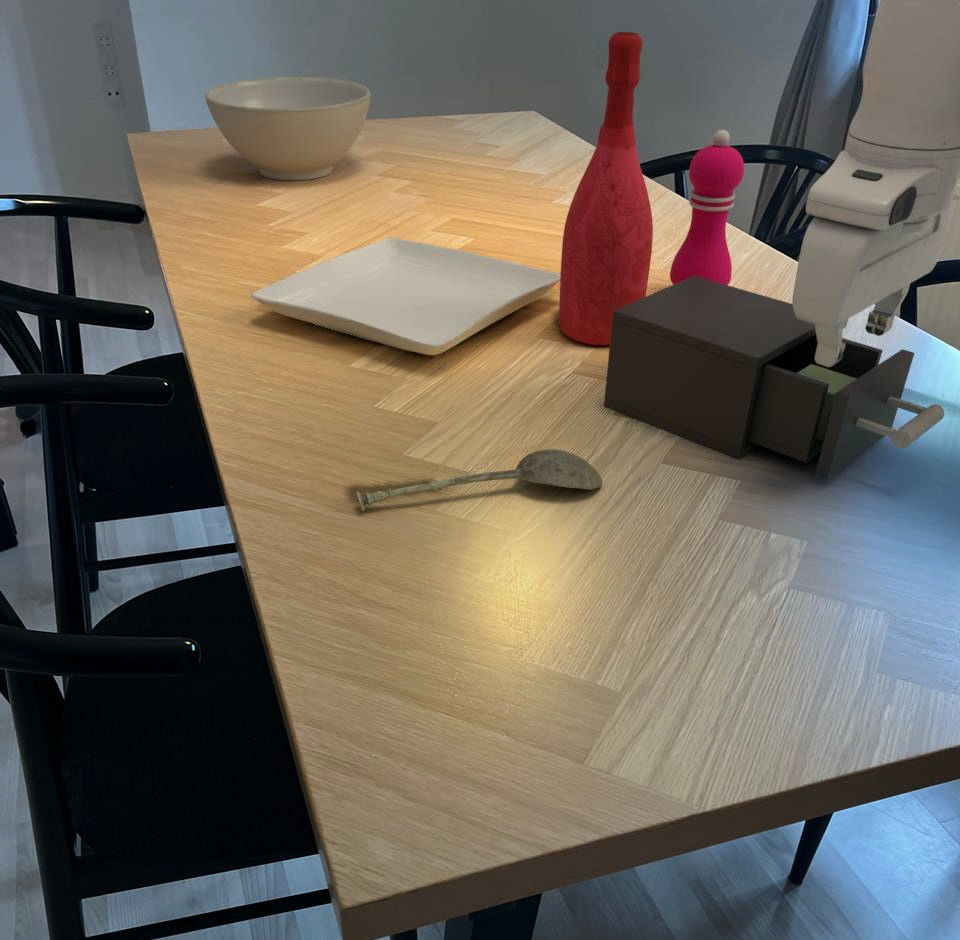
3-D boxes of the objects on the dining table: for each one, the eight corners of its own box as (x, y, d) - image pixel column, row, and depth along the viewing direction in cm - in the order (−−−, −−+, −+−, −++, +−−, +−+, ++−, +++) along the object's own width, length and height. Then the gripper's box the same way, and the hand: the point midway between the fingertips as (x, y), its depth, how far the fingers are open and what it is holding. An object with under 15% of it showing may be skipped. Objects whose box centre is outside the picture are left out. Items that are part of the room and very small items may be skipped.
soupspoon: (612, 503, 86) (586, 470, 91) (617, 468, 84) (590, 436, 89) (364, 528, 80) (351, 492, 86) (362, 491, 78) (349, 456, 84)
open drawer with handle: (941, 449, 91) (969, 368, 86) (880, 500, 83) (907, 415, 78) (756, 385, 101) (771, 310, 96) (687, 426, 94) (700, 346, 89)
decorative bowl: (376, 152, 179) (372, 76, 171) (373, 192, 158) (368, 108, 150) (228, 152, 177) (217, 76, 170) (205, 193, 157) (192, 109, 149)
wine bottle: (619, 356, 109) (652, 43, 90) (541, 337, 112) (558, 33, 93) (655, 328, 115) (693, 30, 96) (580, 310, 119) (603, 21, 100)
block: (857, 378, 89) (811, 363, 91) (833, 394, 86) (786, 378, 89) (844, 424, 92) (800, 409, 94) (820, 441, 89) (776, 425, 92)
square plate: (565, 302, 121) (567, 270, 119) (437, 379, 103) (437, 343, 101) (391, 260, 133) (390, 230, 130) (249, 322, 115) (245, 289, 112)
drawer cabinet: (811, 411, 99) (835, 316, 92) (738, 459, 91) (759, 358, 84) (680, 365, 107) (694, 275, 101) (603, 406, 99) (612, 310, 93)
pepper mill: (731, 305, 121) (762, 126, 108) (716, 325, 116) (748, 140, 103) (674, 296, 123) (699, 120, 111) (658, 315, 118) (681, 133, 106)
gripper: (915, 148, 84) (873, 306, 93) (797, 194, 73) (761, 370, 81) (988, 161, 81) (937, 324, 90) (877, 212, 69) (830, 394, 78)
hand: (852, 347), depth 85 cm, fingers open, 8 cm apart
